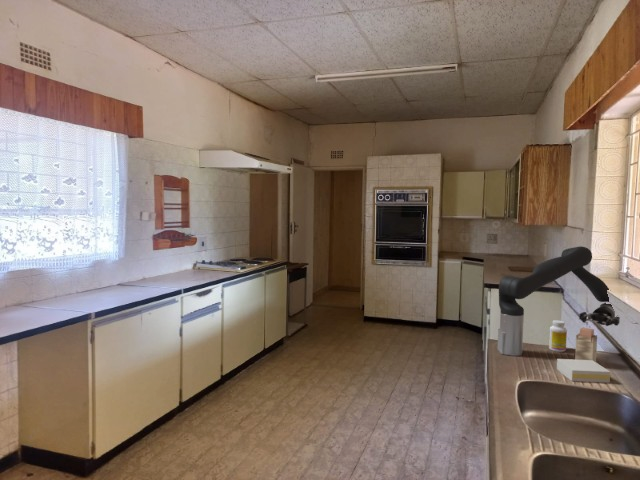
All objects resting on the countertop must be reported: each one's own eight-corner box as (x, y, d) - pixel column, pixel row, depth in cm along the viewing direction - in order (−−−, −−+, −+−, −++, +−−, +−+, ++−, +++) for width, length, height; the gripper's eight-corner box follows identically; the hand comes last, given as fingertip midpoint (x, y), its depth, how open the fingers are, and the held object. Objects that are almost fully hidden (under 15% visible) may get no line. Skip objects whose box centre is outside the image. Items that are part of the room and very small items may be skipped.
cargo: (579, 339, 174) (580, 329, 174) (582, 336, 177) (582, 327, 177) (590, 341, 171) (591, 331, 171) (593, 339, 174) (594, 329, 174)
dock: (571, 381, 156) (572, 370, 156) (556, 368, 168) (557, 358, 168) (609, 382, 155) (610, 372, 155) (591, 370, 167) (592, 360, 167)
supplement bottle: (569, 352, 188) (570, 323, 187) (553, 352, 188) (555, 323, 187) (560, 347, 194) (562, 319, 193) (545, 347, 194) (547, 319, 194)
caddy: (574, 363, 175) (576, 335, 174) (579, 359, 179) (580, 332, 178) (591, 367, 171) (593, 338, 170) (595, 363, 175) (597, 335, 174)
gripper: (586, 303, 198) (576, 310, 186) (624, 309, 188) (615, 315, 176) (586, 320, 198) (575, 327, 187) (623, 325, 188) (614, 333, 177)
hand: (594, 321), depth 182 cm, fingers open, 8 cm apart
